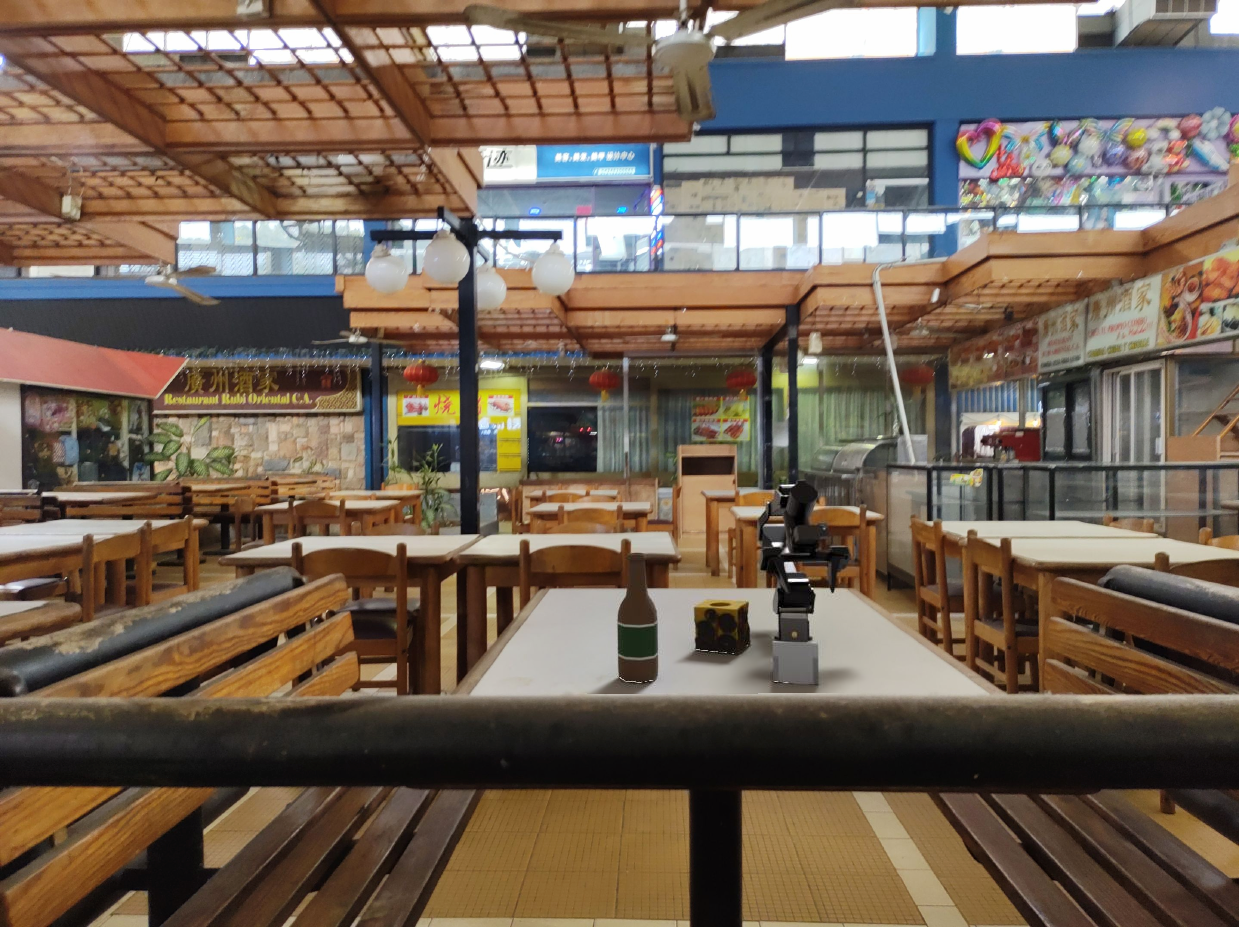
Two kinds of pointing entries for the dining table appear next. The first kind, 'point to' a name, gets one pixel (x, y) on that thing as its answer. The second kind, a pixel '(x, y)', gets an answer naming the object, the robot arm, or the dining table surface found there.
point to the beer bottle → (637, 626)
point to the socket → (795, 662)
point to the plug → (794, 627)
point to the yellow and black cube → (722, 626)
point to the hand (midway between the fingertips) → (811, 592)
